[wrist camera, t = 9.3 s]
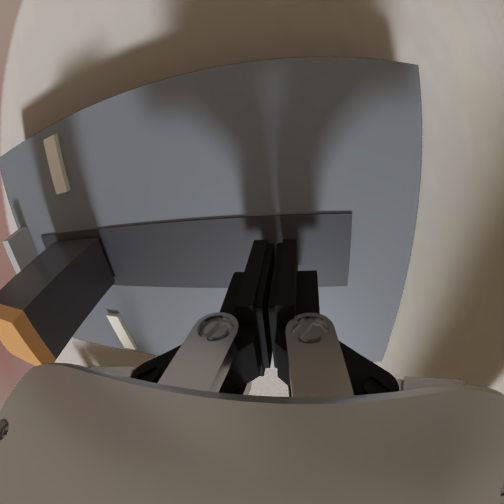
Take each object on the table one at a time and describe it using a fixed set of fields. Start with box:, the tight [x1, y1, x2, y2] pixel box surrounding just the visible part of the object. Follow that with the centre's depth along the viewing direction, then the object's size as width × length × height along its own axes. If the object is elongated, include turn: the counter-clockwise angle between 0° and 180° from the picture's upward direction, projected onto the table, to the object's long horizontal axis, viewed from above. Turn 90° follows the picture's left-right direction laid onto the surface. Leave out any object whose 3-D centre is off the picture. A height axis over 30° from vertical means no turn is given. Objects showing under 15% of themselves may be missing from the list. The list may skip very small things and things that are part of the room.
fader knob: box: [0, 238, 115, 366], centre depth 11 cm, size 4×3×7 cm
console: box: [0, 57, 422, 371], centre depth 13 cm, size 24×16×5 cm, turn 97°
